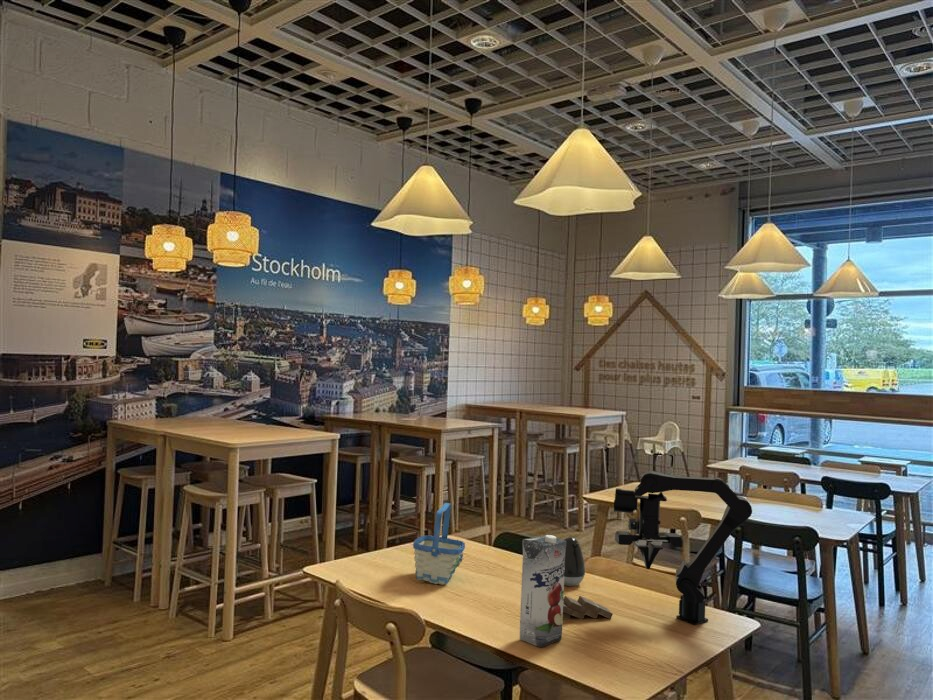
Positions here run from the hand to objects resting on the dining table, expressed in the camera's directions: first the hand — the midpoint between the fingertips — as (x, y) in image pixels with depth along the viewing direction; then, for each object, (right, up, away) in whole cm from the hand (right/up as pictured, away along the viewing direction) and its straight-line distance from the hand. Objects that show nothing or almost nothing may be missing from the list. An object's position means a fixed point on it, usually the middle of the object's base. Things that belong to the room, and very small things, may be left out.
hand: (647, 568), depth 203 cm
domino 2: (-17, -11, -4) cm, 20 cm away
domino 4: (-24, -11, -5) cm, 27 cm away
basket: (-62, -11, +26) cm, 68 cm away
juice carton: (-34, -11, -24) cm, 43 cm away
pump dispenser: (-19, -13, +26) cm, 35 cm away
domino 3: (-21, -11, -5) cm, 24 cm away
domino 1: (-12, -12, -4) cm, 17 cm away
